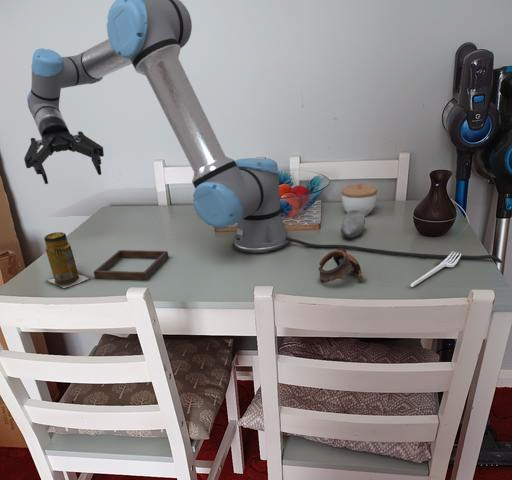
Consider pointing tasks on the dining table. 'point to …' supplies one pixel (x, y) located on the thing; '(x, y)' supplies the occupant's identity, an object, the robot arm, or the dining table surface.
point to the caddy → (124, 275)
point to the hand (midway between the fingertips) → (73, 175)
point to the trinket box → (359, 198)
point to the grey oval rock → (353, 223)
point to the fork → (441, 265)
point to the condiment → (62, 260)
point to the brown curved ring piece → (339, 265)
